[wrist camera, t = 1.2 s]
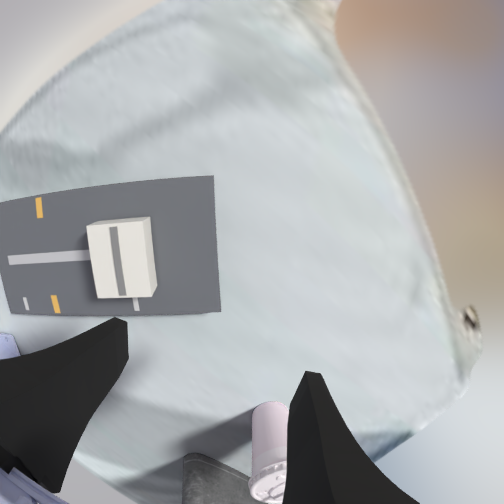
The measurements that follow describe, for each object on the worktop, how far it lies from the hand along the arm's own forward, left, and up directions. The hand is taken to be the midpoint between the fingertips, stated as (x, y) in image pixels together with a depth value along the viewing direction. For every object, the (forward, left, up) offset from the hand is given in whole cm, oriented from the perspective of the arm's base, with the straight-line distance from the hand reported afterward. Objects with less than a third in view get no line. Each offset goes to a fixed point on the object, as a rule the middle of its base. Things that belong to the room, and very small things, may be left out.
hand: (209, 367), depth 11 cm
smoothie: (+5, -16, -13) cm, 21 cm away
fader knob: (-6, +2, -11) cm, 12 cm away
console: (-9, +2, -13) cm, 16 cm away
